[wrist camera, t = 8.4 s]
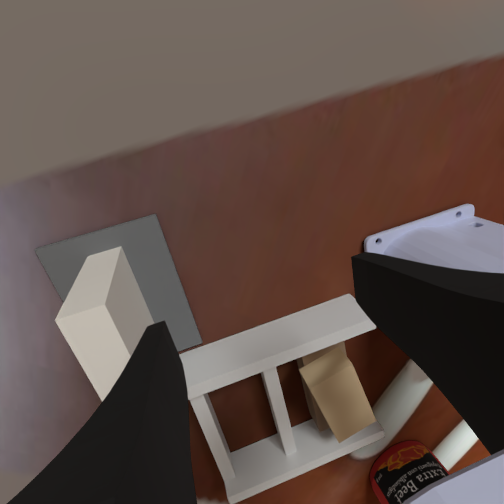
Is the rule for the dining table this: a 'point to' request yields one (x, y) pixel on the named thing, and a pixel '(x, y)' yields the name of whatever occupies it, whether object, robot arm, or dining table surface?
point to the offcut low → (311, 402)
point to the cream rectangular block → (104, 317)
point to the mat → (142, 265)
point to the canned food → (404, 472)
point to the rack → (273, 395)
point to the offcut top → (338, 394)
